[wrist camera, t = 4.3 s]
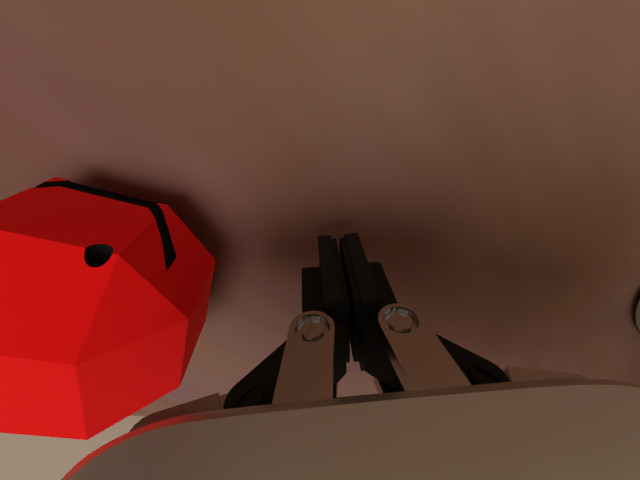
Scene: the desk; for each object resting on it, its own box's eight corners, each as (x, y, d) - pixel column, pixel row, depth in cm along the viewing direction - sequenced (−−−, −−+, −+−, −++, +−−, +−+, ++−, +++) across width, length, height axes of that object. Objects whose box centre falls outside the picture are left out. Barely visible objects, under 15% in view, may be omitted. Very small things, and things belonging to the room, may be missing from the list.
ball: (233, 199, 13) (165, 323, 7) (211, 318, 17) (154, 473, 10) (35, 146, 12) (-311, 243, 5) (60, 291, 15) (-121, 454, 9)
